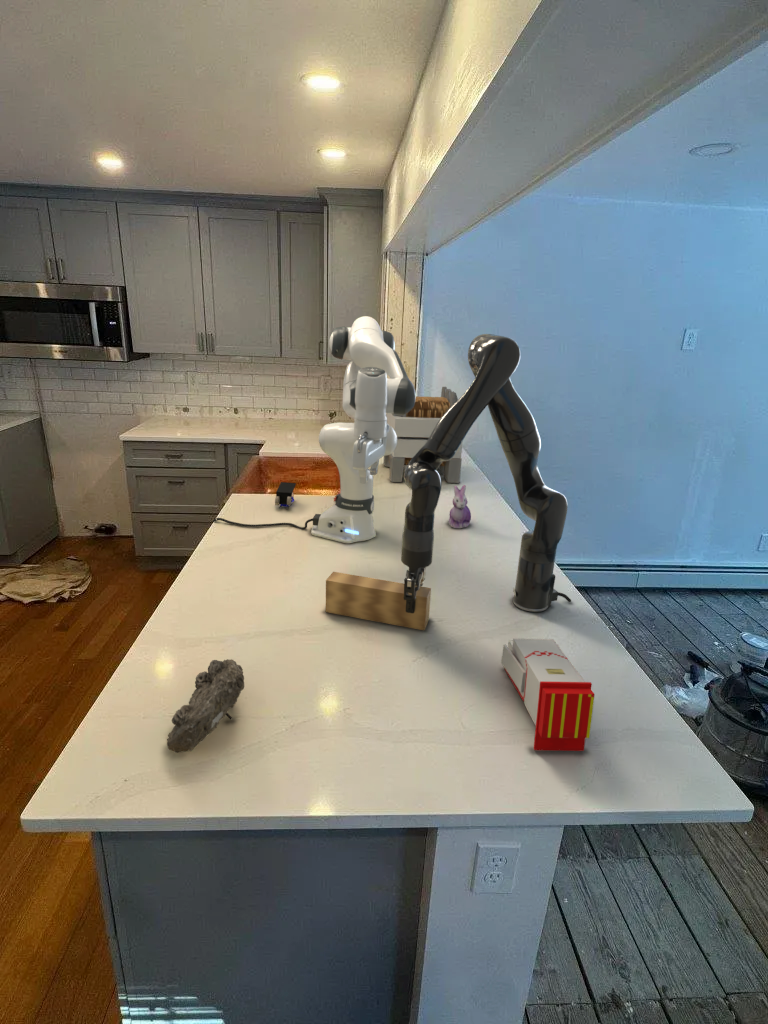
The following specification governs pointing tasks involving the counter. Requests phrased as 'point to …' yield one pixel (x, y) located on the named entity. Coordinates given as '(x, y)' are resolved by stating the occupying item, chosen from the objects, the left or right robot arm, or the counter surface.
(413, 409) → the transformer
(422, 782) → the counter surface
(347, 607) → the bar
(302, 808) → the counter surface
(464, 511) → the figurine
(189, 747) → the fossil
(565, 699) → the toy
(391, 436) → the left robot arm
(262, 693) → the counter surface
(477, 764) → the counter surface
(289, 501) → the figurine character
